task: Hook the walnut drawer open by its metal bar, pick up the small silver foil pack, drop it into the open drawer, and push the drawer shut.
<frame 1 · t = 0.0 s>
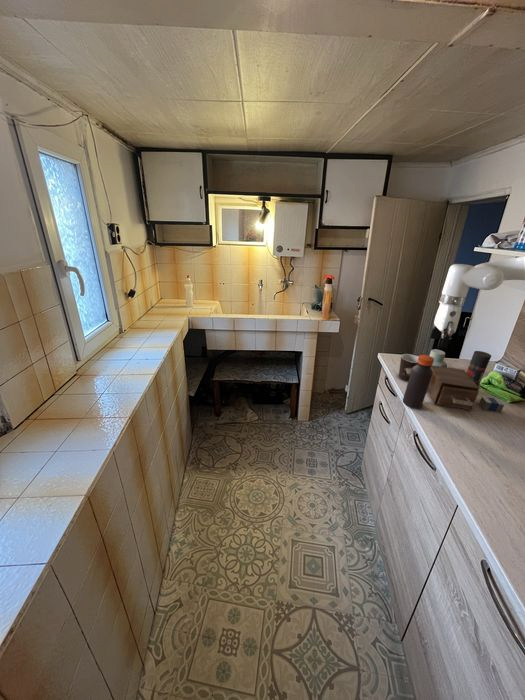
hand: (437, 343, 109), 22 cm above the counter, tool pointing down, fingers open, 9 cm apart
foil pack: (489, 407, 108), on the counter
air freshener: (432, 370, 135), on the counter
bottle: (411, 404, 109), on the counter
deodorant: (470, 384, 124), on the counter
cabinet: (445, 396, 115), on the counter
coffee mug: (409, 379, 126), on the counter
drawer: (453, 392, 109), point 5 cm above the counter, slide at 0.5 cm
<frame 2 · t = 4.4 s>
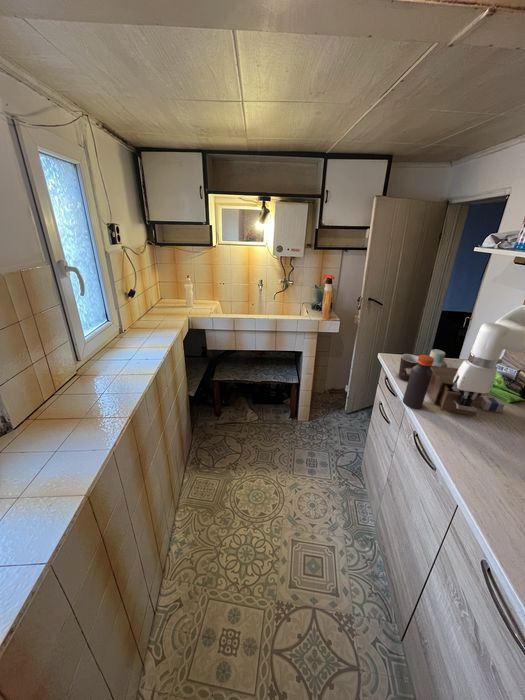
hand: (463, 406, 100), 5 cm above the counter, tool pointing down, fingers closed
drawer: (457, 397, 105), point 5 cm above the counter, slide at 4.1 cm, touching gripper
everything else where it was.
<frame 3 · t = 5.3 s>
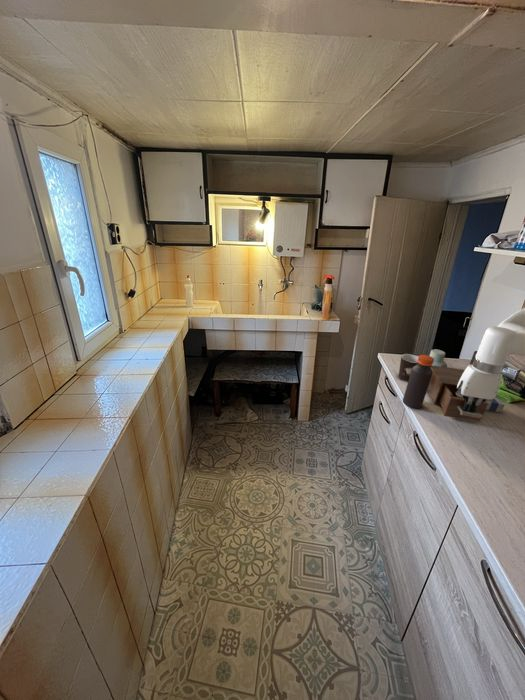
hand: (467, 412, 97), 5 cm above the counter, tool pointing down, fingers closed
drawer: (460, 402, 102), point 5 cm above the counter, slide at 7.7 cm, touching gripper
everything else where it was.
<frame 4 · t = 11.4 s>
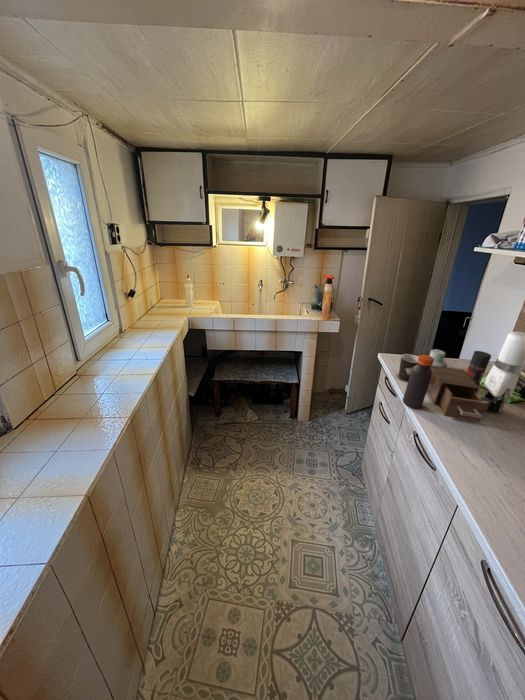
hand: (489, 407, 108), 0 cm above the counter, tool pointing down, fingers closed on foil pack, 4 cm apart
foil pack: (489, 407, 108), on the counter, touching gripper
drawer: (460, 402, 102), point 5 cm above the counter, slide at 7.7 cm
everything else where it was.
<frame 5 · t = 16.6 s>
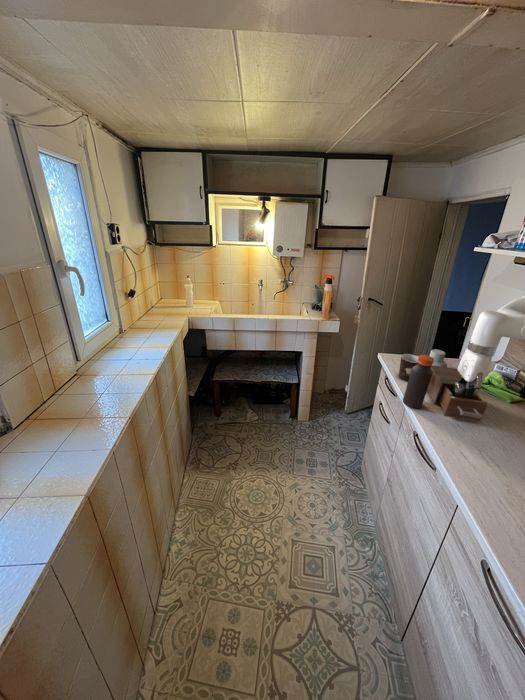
hand: (463, 393, 101), 8 cm above the counter, tool pointing down, fingers closed on foil pack, 4 cm apart
foil pack: (463, 394, 102), point 8 cm above the counter, touching gripper
everything else where it was.
when the fingers open (11 cm above the counter, at t = 27.3 s): foil pack drops 9 cm, resting on drawer.
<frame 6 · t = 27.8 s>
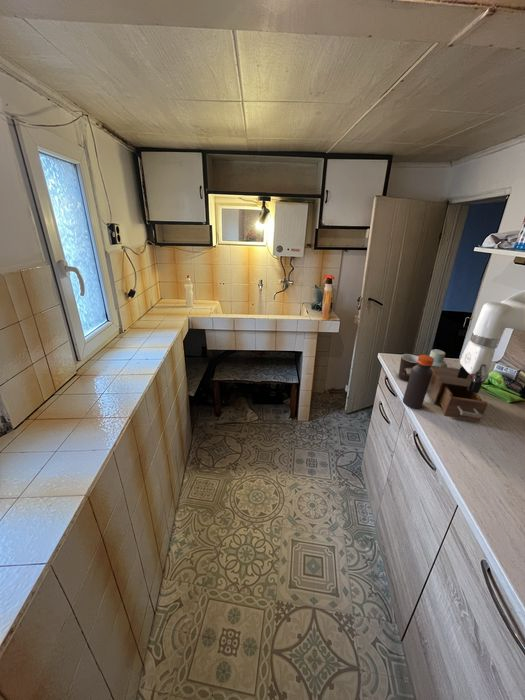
hand: (466, 384, 100), 12 cm above the counter, tool pointing down, fingers open, 9 cm apart
foil pack: (457, 408, 104), point 2 cm above the counter, touching drawer
drawer: (460, 402, 102), point 5 cm above the counter, slide at 7.6 cm, touching foil pack
everything else where it was.
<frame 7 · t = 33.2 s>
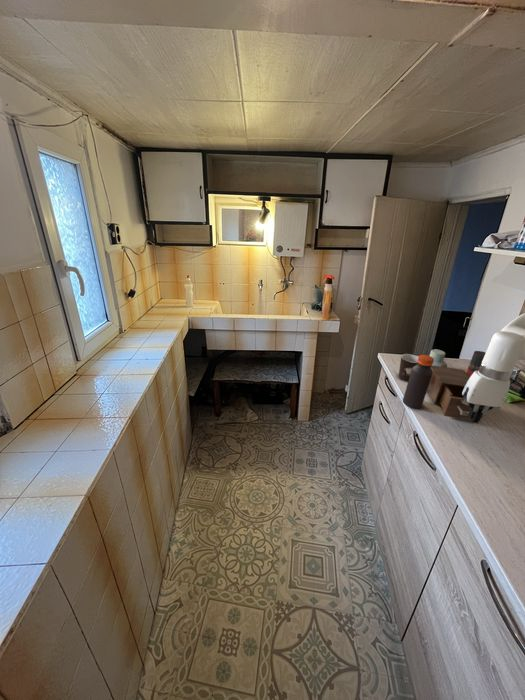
hand: (473, 420, 93), 5 cm above the counter, tool pointing down, fingers closed
drawer: (460, 402, 102), point 5 cm above the counter, slide at 7.5 cm, touching foil pack, gripper
everything else where it was.
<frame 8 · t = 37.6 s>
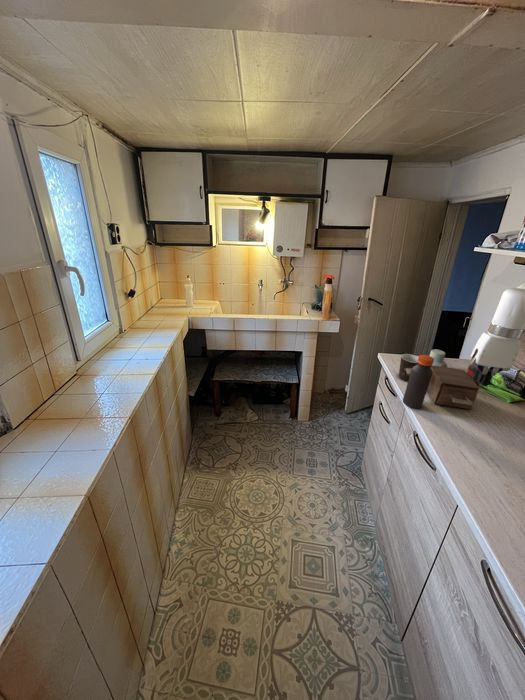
hand: (481, 384, 91), 17 cm above the counter, tool pointing down, fingers closed
foil pack: (450, 397, 110), point 2 cm above the counter, touching drawer
drawer: (453, 391, 109), point 5 cm above the counter, slide at 0.0 cm, touching cabinet, foil pack
everything else where it was.
at the end: drawer pulled out 7.7 cm at the most during the clip, back to where it started at the end; foil pack inside the target area in the cabinet (3.9 cm from its centre), point 2.0 cm above the cabinet's base; drawer slide at 0.0 cm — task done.
